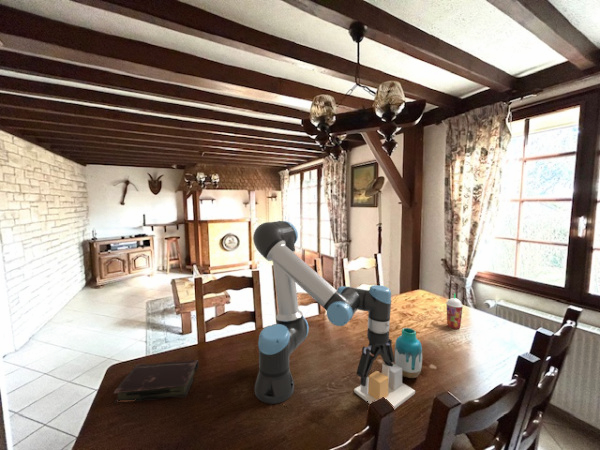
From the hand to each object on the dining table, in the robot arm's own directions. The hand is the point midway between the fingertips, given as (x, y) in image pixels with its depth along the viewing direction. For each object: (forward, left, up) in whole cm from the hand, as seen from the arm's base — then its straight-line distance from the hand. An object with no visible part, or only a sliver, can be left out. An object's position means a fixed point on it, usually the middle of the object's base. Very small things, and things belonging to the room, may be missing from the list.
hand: (375, 387), depth 95 cm
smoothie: (+84, +10, -4) cm, 85 cm away
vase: (+22, +1, -4) cm, 23 cm away
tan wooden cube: (+1, -1, -3) cm, 3 cm away
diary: (-63, +55, -5) cm, 84 cm away
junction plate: (+5, 0, -4) cm, 7 cm away
